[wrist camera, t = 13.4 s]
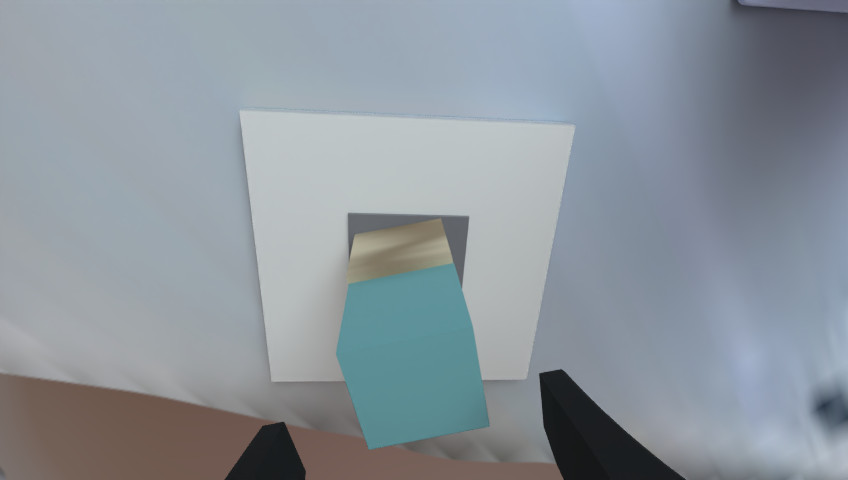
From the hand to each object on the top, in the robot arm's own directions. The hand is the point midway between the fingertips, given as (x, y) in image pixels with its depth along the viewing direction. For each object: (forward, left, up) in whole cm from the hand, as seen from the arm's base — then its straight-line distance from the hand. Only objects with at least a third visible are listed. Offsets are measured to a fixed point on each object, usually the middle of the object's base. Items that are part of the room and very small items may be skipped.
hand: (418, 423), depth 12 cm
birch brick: (0, 0, -9) cm, 9 cm away
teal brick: (0, 0, -5) cm, 5 cm away
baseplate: (0, 0, -10) cm, 10 cm away
